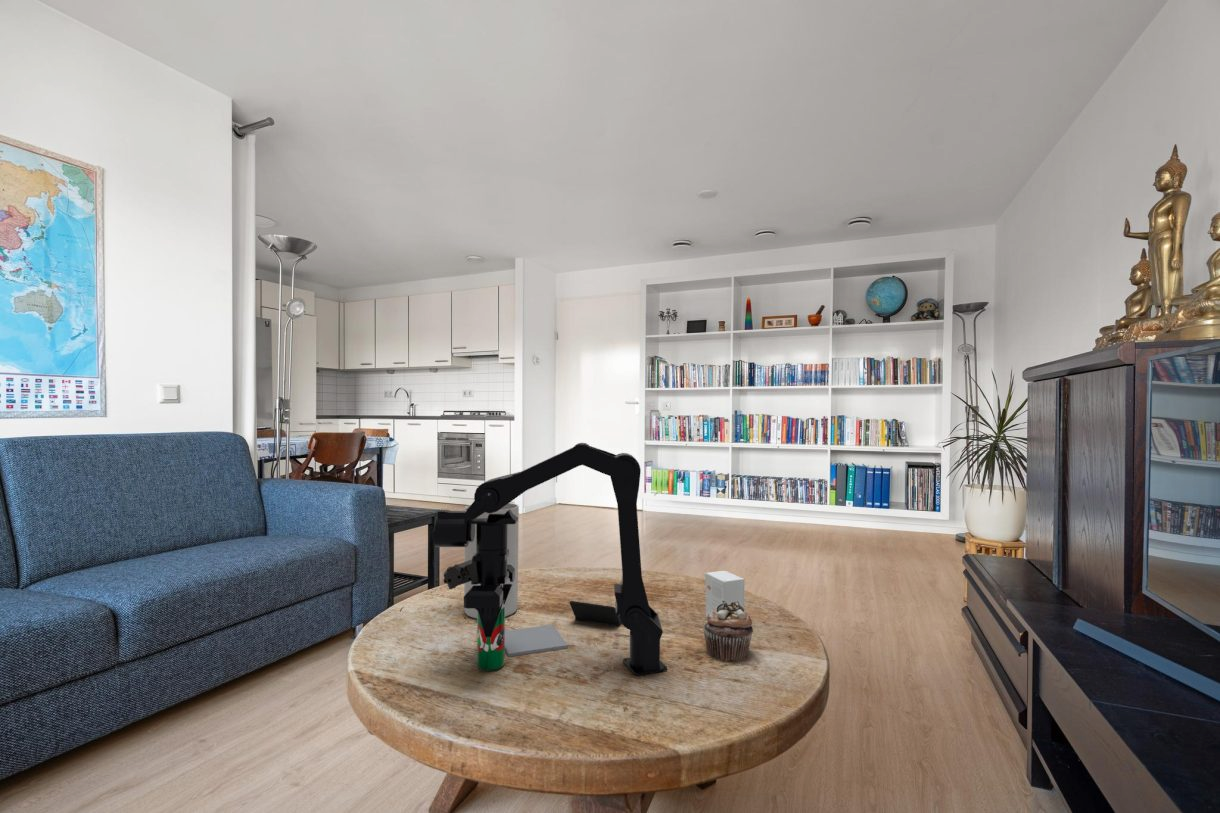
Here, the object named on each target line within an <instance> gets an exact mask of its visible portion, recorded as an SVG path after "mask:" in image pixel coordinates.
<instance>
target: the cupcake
mask: <svg viewBox="0 0 1220 813" xmlns="http://www.w3.org/2000/svg"><path fill="white" fill-rule="evenodd" d="M706 619H707V620H706V621H707V622H705V623H704V624H703V626H702V630H703V635H704V641H705V646H706V653H707V654H708V655H709V656H710V657H711V658H713V659H715V658H716V660H719V659H720V660H719V661H722V660H726V661H725V662H731V661H730V660H733V661H732V662H735V661H734V660H739V661H741V659H743V660H745V659H746V658H747V657H746V656H748V654H749V651H750V650H749V649H750V645H751V641H752V640H751V639H752V635H753V633H754V629H753V626H752V625H753V620H752V619H751V617H750V616H749V614H748V613H747V612H746V611H745V612H744V608H743V607H742V605H741V604H740V603H739V601H737V602H732V603H731V604H730V605H728V604H727V603H726V602H725V601H722V603H721V604H720V605H718V606H717V607H716V609H715V610H714V611H713V612H711V613H710V614H708V617H707V618H706ZM745 657H746V658H745ZM744 658H745V659H744Z"/></svg>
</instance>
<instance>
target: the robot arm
mask: <svg viewBox="0 0 1220 813" xmlns="http://www.w3.org/2000/svg"><path fill="white" fill-rule="evenodd" d="M579 466H585V468H586V467H587V468H589V469H591V470H593V471H596V472H599V473H601V474H603V475H607V476H609V477H610V480H611V484H612V489H613V492H614V496H615V501H616V504H617V505H616V506H617V517H618V519H617V520H618V531H619V546H620V558H621V572H622V575H621V581H620V583H614V584H613V588H614V591H613V592H614V597H615V602H614V607H615V610H616V616H618V615H619V614H620V620H621V623H622V624H621V625H622V626H624V627H625V628H626V629H627V630H628V631H629V657H626V658H622V663H624V665H625V666H626V667H627V668H628V669H629V670H630V671H631V672H632V674H634V675H635V676H641V675H647V674H648V675H649V674H652V673H658V672H659V673H660V672H665V671H667V670H668V666H667V665H666V664H665V663H663V662H662V660H661V638H662V635H663V633H664V631H663V627H662V624H661V620H660V617H659V614H658V613H657V611H656V610H655V609H653V608H652V607H651V606H650V604H649V601H648V600H649V599H648V596H647V593H646V588H645V584H644V580H643V575H642V573H643V572H642V562H641V561H642V560H641V548H640V546H641V545H640V544H641V543H640V534H639V521H638V520H639V518H638V505H637V503H638V498H639V497H638V496H639V490H640V482H641V481H640V480H641V466H640V463H639V461H638V460H637V459H636V457H634V456H633V454H630V453H626V452H622V453H621V452H620V453H617V454H614V453H613V452H609V451H606V450H603V449H601V448H597V447H594V446H592V445H589V444H588V443H586V442H578V443H576V444H575V445H574V446H572V447H571V448H569V449H567V450H565V451H562V452H560V453H558V454H556V455H554V456H551V457H549V458H548V459H545V460H543V461H541V462H538V463H537V464H535V465H532V466H530V467H528V468H525V469H523V470H521V471H517V472H514V473H510V474H506V475H502V476H497V477H495V478H491V479H488V480H486V481H485V482H483V483H481V484H480V485H478V486H477V487H476V490H475V492H474V494H473V495H474V496H473V497H474V499H473V500H474V501H473V502H472V503H471V504H470V505H471V506H470V507H469V508H467V511H465V510H449V509H440V510H439V511H437V518H436V521H435V524H434V529H433V531H432V539H433V545H434V547H435V548H465V547H467V546H468V544H469V542H473V541H474V538H475V524H477V529H476V554H475V555H474V556H473V557H472V560H469V561H466V562H465V561H463V562H461V563H455V564H454V565H453V566H448V567H447V568H446V570H445V571H444V572H443V583H444V584H445V585H446V584H447V586H448V589H449V590H453V589H455V588H456V587H458V586H461V585H464V584H465V583H467V582H469V581H471V584H481V586H473V587H472V588H470V589H469V590H468V592H467V593H466V594H465V596H463V608H475V609H476V610H477V611H478V613H479V616H480V619H481V623H482V627H483V631H484V634H485V637H491V636H492V633H493V630H494V628H495V625H496V622H497V620H498V617H499V614H500V611H501V609H502V606H503V604H504V605H505V603H506V600H507V597H508V595H509V592H510V590H511V587H512V584H505V582H506V581H507V579H508V578H510V582H513V581H514V579H515V568H514V567H513V566H512V565H507V557H508V556H509V550H507V537H508V524H515V523H516V522H517V521H518V517H516V516H515V515H514V514H513V513H512V512H511V510H510V509H509V510H508V511H507V512H506V513H505V514H489V515H488V518H477V517H478V516H480V515H482V514H483V513H485V512H486V513H494V512H496V511H498V510H500V509H501V508H503V507H504V506H505V505H507V504H508V503H511V502H513V501H514V500H515V499H517V498H518V497H520V496H521V495H522V494H524V493H525V492H527V491H529V490H530V489H532V488H535V487H537V486H539V485H541V484H544V483H545V482H548V481H549V480H552V479H554V478H556V477H558V476H561V475H563V474H565V473H567V472H569V471H571V470H573V469H575V468H578V467H579Z"/></svg>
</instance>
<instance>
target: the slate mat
mask: <svg viewBox="0 0 1220 813" xmlns="http://www.w3.org/2000/svg"><path fill="white" fill-rule="evenodd" d="M565 649H569V644H568V643H567V642H566V641H565V639H564V637H562V635H561V634H560V632H559V631H558V629H556V627H555V626H554V625H553V624H547V625H538V626H531V627H523V628H515V629H507V630H506V629H505V652H506V654H507V656H508V658H510V657H516V656H517V657H518V656H523V655H530V654H536V653H537V654H538V653H544V652H550V651H551V652H552V651H557V650H565Z"/></svg>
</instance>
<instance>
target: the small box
mask: <svg viewBox="0 0 1220 813" xmlns="http://www.w3.org/2000/svg"><path fill="white" fill-rule="evenodd" d="M704 575H705V577H704V578H705V580H704V581H705V618H706V617H708V614H710V613H711V612H713V611H714V610H715V609H716V607H717V606H718V605H720V604H721V603H722V601H725V602H726V603H727V604H728V605H730V604H731V603H732V602H737V601H739V603H740V604H741V605H742V607H743V608H744V612H745V613H746V611H745V609H746V608H745V606H746V605H745V602H746V601H745V579H744V578H742V577H740V576H738V575H735V574H733V573H731V572H730V571H727V570H720V571H719V570H718V571H712V572H711V571H710V572H708V571H707V572H705V574H704Z"/></svg>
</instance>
